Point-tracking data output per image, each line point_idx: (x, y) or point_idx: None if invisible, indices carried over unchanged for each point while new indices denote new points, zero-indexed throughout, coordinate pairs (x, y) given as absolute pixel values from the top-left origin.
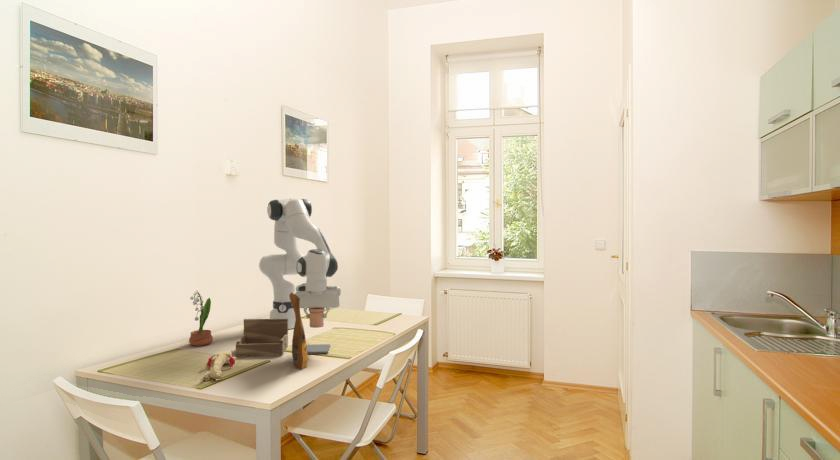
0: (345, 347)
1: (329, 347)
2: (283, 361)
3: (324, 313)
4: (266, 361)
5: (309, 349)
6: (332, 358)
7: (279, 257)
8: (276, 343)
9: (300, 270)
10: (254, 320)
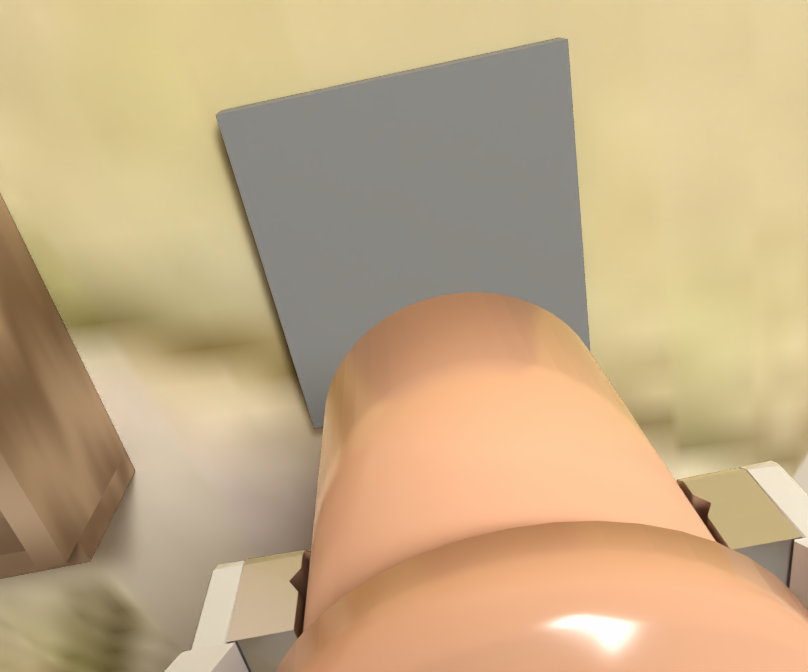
0: (773, 64)
1: (575, 177)
2: None
3: (758, 559)
4: (101, 618)
5: (360, 328)
6: None
7: None
8: (13, 560)
9: None
10: None
